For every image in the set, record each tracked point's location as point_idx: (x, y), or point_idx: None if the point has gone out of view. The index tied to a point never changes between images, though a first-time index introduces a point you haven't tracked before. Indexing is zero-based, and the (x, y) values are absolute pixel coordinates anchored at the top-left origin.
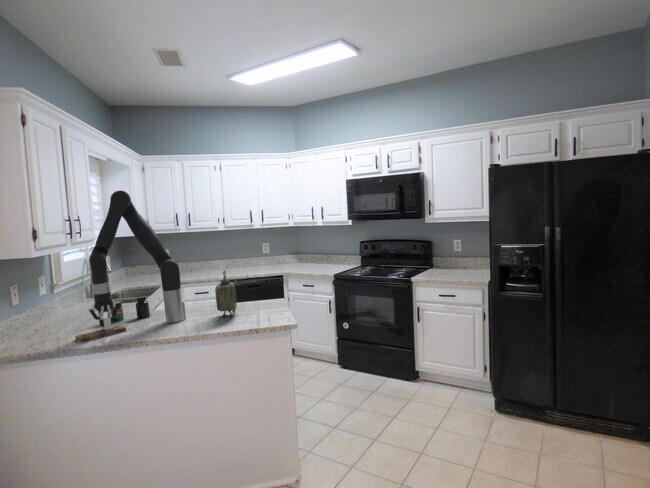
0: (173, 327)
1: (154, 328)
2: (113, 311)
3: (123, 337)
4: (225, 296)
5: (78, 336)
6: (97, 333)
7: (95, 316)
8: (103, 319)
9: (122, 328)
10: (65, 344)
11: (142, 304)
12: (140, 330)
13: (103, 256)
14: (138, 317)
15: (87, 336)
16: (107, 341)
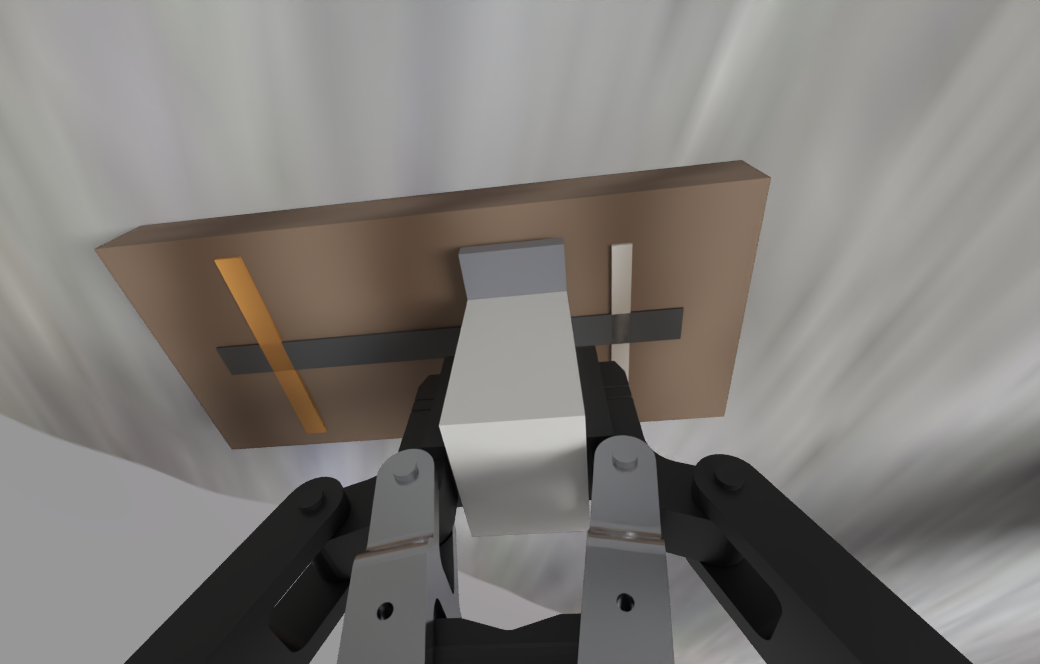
0: (933, 587)
1: (874, 513)
2: (761, 553)
3: (586, 533)
4: None
5: (163, 328)
6: (395, 398)
7: (303, 623)
8: (469, 522)
9: (679, 413)
10: (69, 321)
11: None
12: (781, 475)
13: None
14: None
15: (287, 419)
16: (465, 530)
